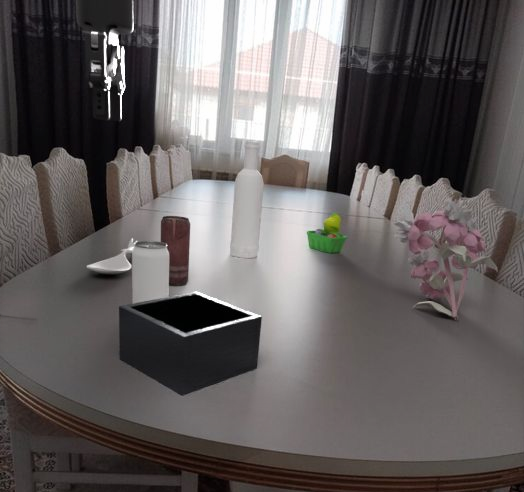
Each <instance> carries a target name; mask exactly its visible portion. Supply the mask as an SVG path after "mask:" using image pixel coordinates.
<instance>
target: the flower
mask: <svg viewBox="0 0 524 492" xmlns="http://www.w3.org/2000/svg"><path fill="white" fill-rule="evenodd" d="M463 198H464V199H461V200H460V199H456V198H455V199H454V200H453V198H452V196H450V197H448V198H447V199H445V201H444V203H443V206H444V208H445V210H436V211H435V212H434V213H433V214H432V215H431V213H430V212H422V213H421V214H419V215H417V217H416V218H414V213H413V212H411V211H405V212H402V215H403V217H401V219H400V218H398V220H397V221H396V222H395V221H392V223H393V225H395V227H398V228H396V230H397V231H396V232H395V234H394V238H396V239H399V240H398V241H399V242H400V243H403V244H406V243H407V244H408V250H409V251H410V253H412V255H410V257H407V260H408V263H409V265H412V266H415V267H414V268H413V269H412V270H411V272H410V278H411V279H413V280H416V279H418V280H422V281H423V282H420V283H419V286H418V287H419V291H420V293H421V294H423V295H426V296H425V298H429V299H431V301H430V300H429V301H420V302H419V301H418V302H417V303H415V304H414V305H413V307H412V309H414V308H416V307H418V306H421V307H423V306H425V307H428V308H432V309H434V310H435V311H437V313H441V314H446V315H448V316H449V317H451V318H453V319H454V320H455V321H457V322H458V323H459V321H460V320H459V316H458V311H459V308H460V306H461V303H462V300H463V298H464V295H465V292H466V287H467V280H468V281H469V278H468V270H469V268H470V269H473V268H476V267H477V266H478V265H485V266H487V267H488V268H489V269H491V270H495V272H496V273H498V272H499V271H498V266H497V265H496V264H495V263H494V261H493V260H492V259H491V257H490V256H480V255H478V254H477V253H481V252H484V251H486V243H485V242H484V241H483V236H482V233H481V232H480V231H479V230H477V228H478V227H479V224H478V222H479V221H478V220H479V215H477V216H476V217H475V218H474V219H473V217H474V215H472V212H473V208H471V207H468V205H467V204H465V202H466V200H467V198H466V196H464V197H463ZM464 204H465V205H464ZM467 207H468V208H467ZM444 227H445V228H444ZM442 228H444V230H443V232H442V236H441V240H440V242H439V241H438V240H437V239H436V238H435V237H434V236H433V235H432V234H430V233H428V231H430V232H432V233H433V232H436V231H438V230H440V229H442ZM445 241H446V242H445ZM444 242H445V243H444ZM433 243H434V244H436V246H437V248H438V252H439V254H440V255H441V258H442V260H443V265H444V269H445V271H444V270H439V269H438V268H440V263H439V261H438V260H437V259H429V257H430V252H429V251H428V249H430V248H431V247H432V246H433ZM421 250H423V251H421ZM450 257H452V258H451V261H450V259H449V258H450ZM428 259H429V260H428ZM450 262H451V264H450ZM451 266H452V267H453V268H455V269H456V270H463V273H462V274H461V273H458V272H454V271H452V270H451ZM437 270H438V271H437ZM458 281H461V284H460V291H459V296H458V299H457V302H456V295H455V287H454V283H455V282H458ZM443 295H444V296H445V298H446V300H447V302H448V304H449V307H450V309H451V310H450V309H447V308H446V307H444V306H443V305H442V304H439V303H438V302H435V301H436V300H441V299H442V298H443Z"/></svg>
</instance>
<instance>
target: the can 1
mask: <svg viewBox="0 0 524 492" xmlns="http://www.w3.org/2000/svg"><path fill="white" fill-rule="evenodd" d="M131 274H132V275H131V285H132V287H131V293H132V295H131V298H132V302H131V304H134V303H139V302H144V301H149V300H155V299H160V298H165V297H170V295H169V294H170V293H169V292H170V291H169V290H170V289H169V288H170V285H169V252H168V250H167V244H165V243H162V242H161V241H158V240H157V241H155V240H140V241H137V242H136V243H135V247H134V249H133V252H132V254H131Z"/></svg>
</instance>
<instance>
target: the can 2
mask: <svg viewBox="0 0 524 492" xmlns="http://www.w3.org/2000/svg"><path fill="white" fill-rule="evenodd" d="M160 242H162V243H165V244H167V250H168V252H169V287H170V286H171V287H182V286H186V285H187V284H188V282H189V272H190V271H189V270H190V247H191V244H190V243H191V222H190V219H189V217H185V216H181V215H180V216H178V215H165V216H162V219H161V220H160Z"/></svg>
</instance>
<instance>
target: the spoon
mask: <svg viewBox="0 0 524 492" xmlns="http://www.w3.org/2000/svg"><path fill="white" fill-rule="evenodd" d="M136 242H138V240H135V241H134V238H133V237H131V239H129V242H128V245H127V248H123V249H122V248H121V250H120V252H121V253H119V254H117V255H115V256H113V257H109V258H107V259H103V260H100V261H97V262H94V263H90V264H87V265H86V268H87V269H88V270H90V271H92V272H94V273H97V274H102V275H120V274H123V273H125V272H128V271H130V269H132V263H130V262H129V260H128V258H127V257H126V255H132V252H133V249H134V247H135V243H136Z"/></svg>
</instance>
